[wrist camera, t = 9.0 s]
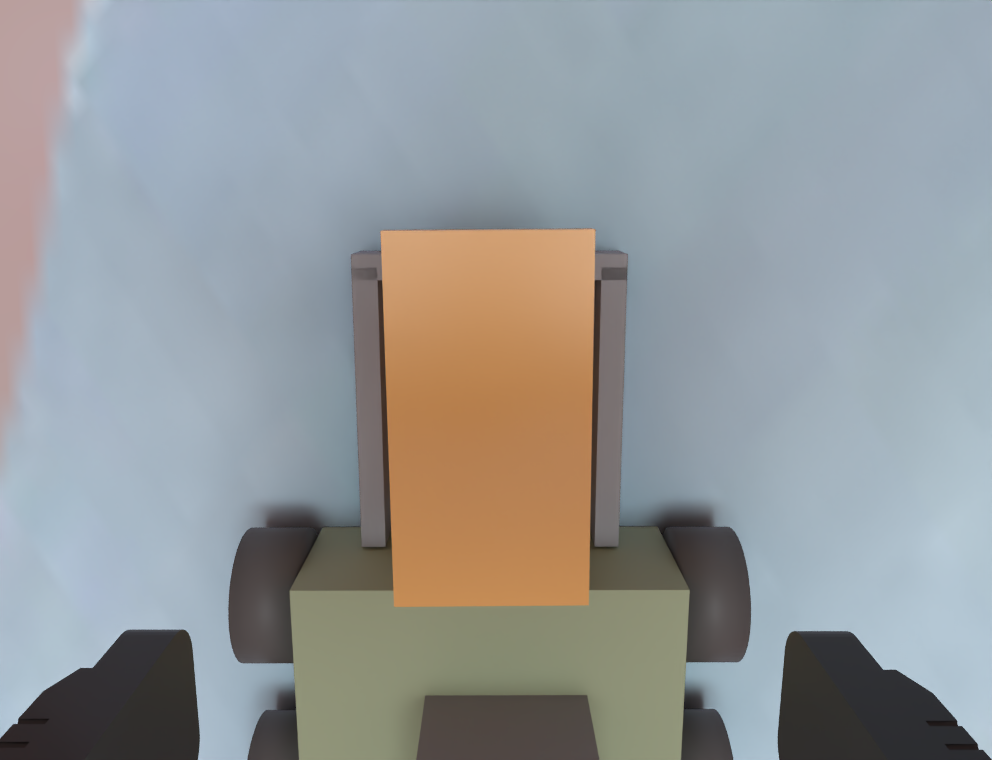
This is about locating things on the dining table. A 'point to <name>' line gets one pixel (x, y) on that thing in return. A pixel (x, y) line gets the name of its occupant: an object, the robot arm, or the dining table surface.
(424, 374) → the orange box
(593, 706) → the green boxy vehicle
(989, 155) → the dining table surface
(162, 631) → the robot arm
